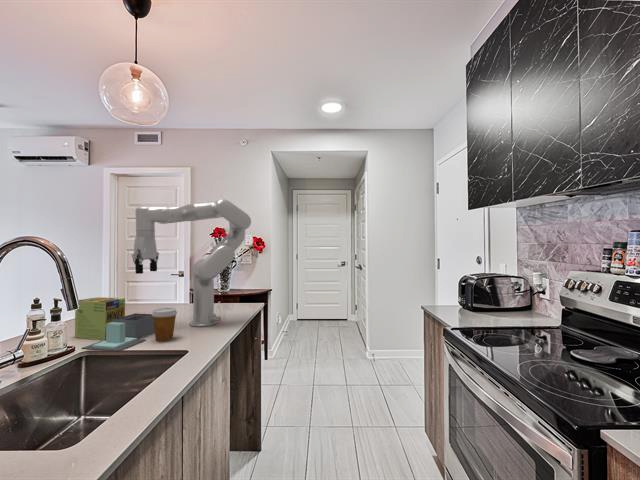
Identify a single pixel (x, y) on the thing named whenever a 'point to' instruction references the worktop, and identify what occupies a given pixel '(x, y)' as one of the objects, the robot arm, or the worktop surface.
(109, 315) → the protein box
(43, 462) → the worktop surface
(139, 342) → the mat
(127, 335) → the box
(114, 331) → the lid
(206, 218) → the robot arm
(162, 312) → the disposable coffee cup
